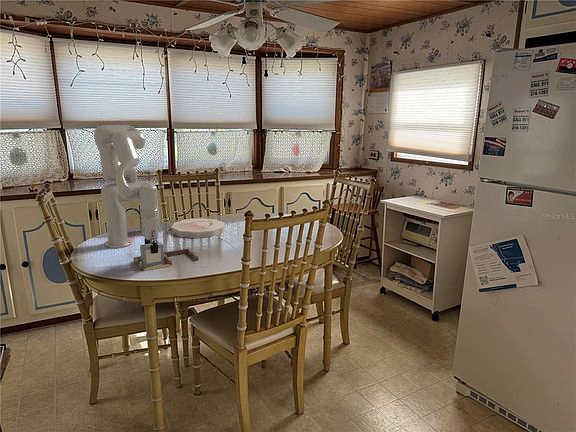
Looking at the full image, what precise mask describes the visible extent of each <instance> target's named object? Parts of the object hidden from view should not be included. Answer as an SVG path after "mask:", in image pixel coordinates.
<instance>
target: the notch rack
mask: <svg viewBox="0 0 576 432" xmlns="http://www.w3.org/2000/svg"><path fill="white" fill-rule="evenodd" d="M163 253H164V262H166V263H167V264H166V263H165V264H159V265H156V266H155V265H154V266H151V267H150V266H148V267H146V268H145V267H143V265H142V264H141V255H140V256H134V257H133V262H134V264H135V265H136V266H137V268H138V269H139V270H140V271H141V272H142V271H143V272H145V271H151V270H152V271H153V270H157V269H163V268H167V267H171V266H172V265H173V263H172V259H170V258H169V257H172V256H177V255H184V254H188V255H190V256H191V257H192V258H193V259H194V260H195V261H199V259H200V258H199V255H197V254H196V253H195V251H194V252H193V251H192V250H191V248H182V249H176V250H170V251H163Z"/></svg>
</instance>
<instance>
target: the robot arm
mask: <svg viewBox="0 0 576 432" xmlns="http://www.w3.org/2000/svg"><path fill="white" fill-rule="evenodd" d="M93 138H94V143H95V145H96V147H97V149H98V153H99V159H100V165H101V167H100V169H101V174H102V177H103V179H104V180H106V181H109V182H111V181H113V183H108V184H105V185H103V186H102V187H101V190H100V194H101V198H102V201H103V206H104V211H105V214H104V215H105V223H106V234H107V241H105V243H104V245H105V247H106V248H110V249H117V248H118V249H120V248H125V247H128V246H130V245H132V240H131V239H129V235H128V233H129V232H128V224H127V223H128V222H127V211H126V208H125V207H124V206H123V205H122V204H121V203H122V202H123V203H124V202H128V201H134V200H139V205H140V215H141V217H142V232H141V236H143V238H144V244H150V243H151V245H150V250H151V254H154V253H158V242H159V241H158V238H159V232H158V225H157V217H158V216H159V217H160V213H159V214H158V204H159V198H158V186H157V185H155V184H152V183H151V182H149V181H138V174H137V173H138V171H137V168H136V166H138V164H139V163H140V158H139V156H138V153H137V150H141V149H143V148H144V147H145V145H146V139H145V136H144V134H143V133H142V132H141V130H140V129H137V128H135V127H134V126H132V125H128V124H126V125H125V124H121V125H120V124H115V125H114V124H107V125H103V124H102V125H99V126H97V127H95V128H94V131H93ZM114 181H115V182H114ZM140 215H139V216H140Z"/></svg>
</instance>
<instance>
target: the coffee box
mask: <svg viewBox="0 0 576 432" xmlns="http://www.w3.org/2000/svg"><path fill="white" fill-rule="evenodd" d="M138 211H139V213H138V215H139V225H140V231H139V232H140V233H142V217H141V215H140V204H139V205H138ZM158 214H159V216H158V217H157V225H158V233H160V231H161V229H160V207H159V203H158Z"/></svg>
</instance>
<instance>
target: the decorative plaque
mask: <svg viewBox="0 0 576 432" xmlns="http://www.w3.org/2000/svg"><path fill="white" fill-rule="evenodd" d="M225 226H226V225H225V222H224V221H221V220H218V219H215V218H214V219H213V218H203V217H201V218H192V219H191V218H186V219H183V220H179V221H176V222H173V224H172V225H171V226H170V227H171V228H170V229H171V234H173V235H176V236H177V237H181V238H190V239H191V238H193V239H200V238H213V237H216V236H218V235H221V234H224V233H225Z"/></svg>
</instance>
